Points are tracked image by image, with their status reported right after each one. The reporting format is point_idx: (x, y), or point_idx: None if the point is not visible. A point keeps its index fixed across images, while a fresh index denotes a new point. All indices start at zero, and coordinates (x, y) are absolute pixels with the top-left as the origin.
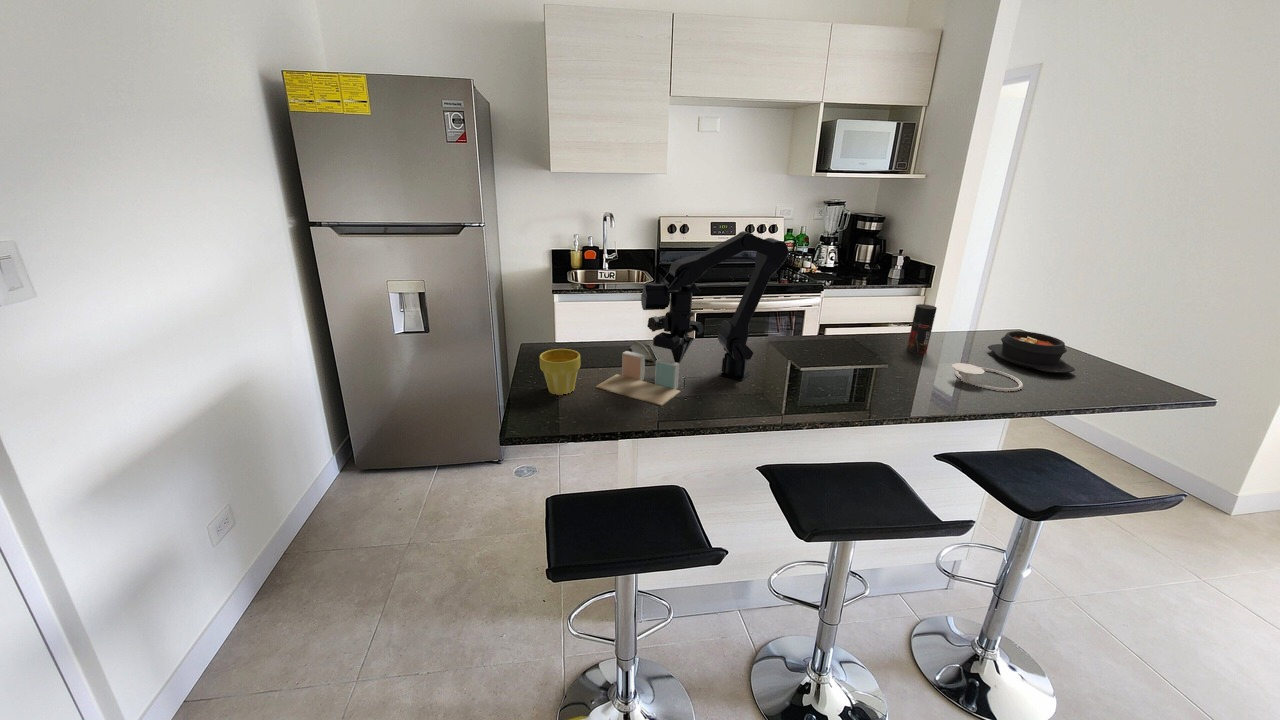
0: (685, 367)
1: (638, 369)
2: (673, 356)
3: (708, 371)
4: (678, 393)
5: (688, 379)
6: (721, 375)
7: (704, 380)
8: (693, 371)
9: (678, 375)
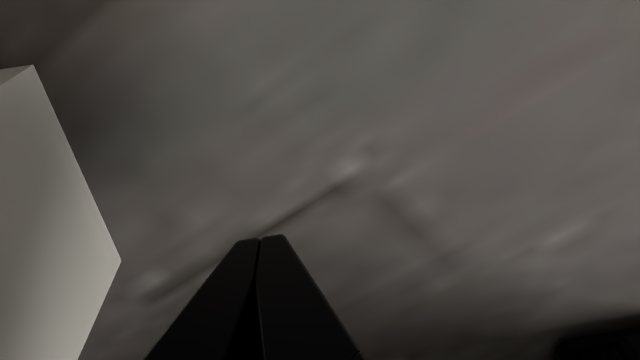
0: (629, 21)
1: None
2: (170, 329)
3: (616, 237)
4: None
5: (340, 224)
6: (557, 351)
7: (408, 310)
8: (552, 150)
9: (75, 358)
